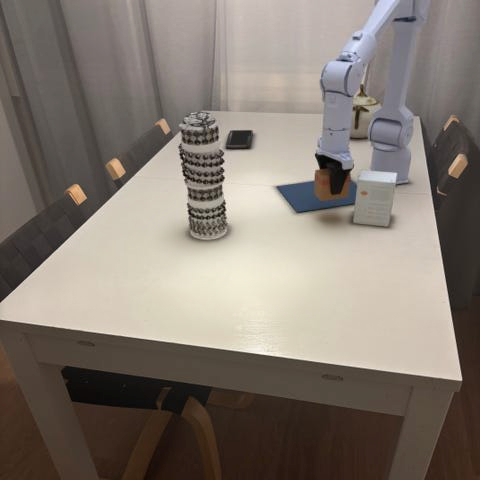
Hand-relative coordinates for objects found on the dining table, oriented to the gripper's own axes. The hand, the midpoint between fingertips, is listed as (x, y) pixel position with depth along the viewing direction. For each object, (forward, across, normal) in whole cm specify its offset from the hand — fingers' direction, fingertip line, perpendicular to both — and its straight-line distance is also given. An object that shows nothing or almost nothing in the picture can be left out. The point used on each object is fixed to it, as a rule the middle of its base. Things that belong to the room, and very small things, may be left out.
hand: (331, 189), depth 106 cm
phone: (+7, -60, -6) cm, 60 cm away
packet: (+1, 0, 0) cm, 1 cm away
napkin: (+7, -13, +4) cm, 15 cm away
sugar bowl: (+7, -53, +32) cm, 62 cm away
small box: (+7, +4, +9) cm, 12 cm away
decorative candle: (+7, -3, -28) cm, 29 cm away
